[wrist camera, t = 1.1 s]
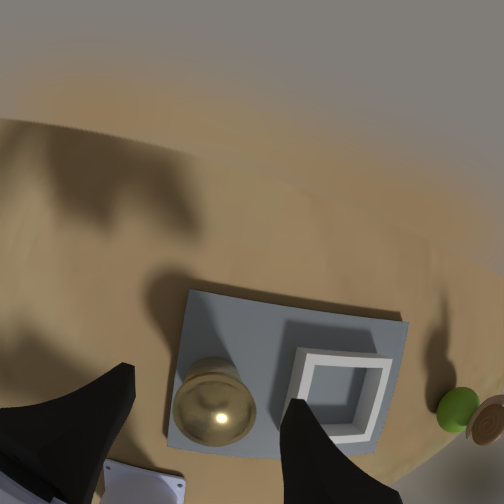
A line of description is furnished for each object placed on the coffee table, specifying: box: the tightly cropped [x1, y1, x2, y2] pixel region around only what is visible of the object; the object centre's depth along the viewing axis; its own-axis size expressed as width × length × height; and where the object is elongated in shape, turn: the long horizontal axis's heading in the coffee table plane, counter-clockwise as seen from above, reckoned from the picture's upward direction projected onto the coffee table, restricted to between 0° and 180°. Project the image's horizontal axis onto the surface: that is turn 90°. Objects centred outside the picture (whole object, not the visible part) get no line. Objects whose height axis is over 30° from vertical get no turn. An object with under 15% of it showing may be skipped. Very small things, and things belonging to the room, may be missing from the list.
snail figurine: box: [437, 387, 504, 446], centre depth 19 cm, size 5×6×12 cm
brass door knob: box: [172, 356, 257, 447], centre depth 18 cm, size 5×5×6 cm
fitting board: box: [167, 289, 409, 459], centre depth 21 cm, size 14×20×4 cm
